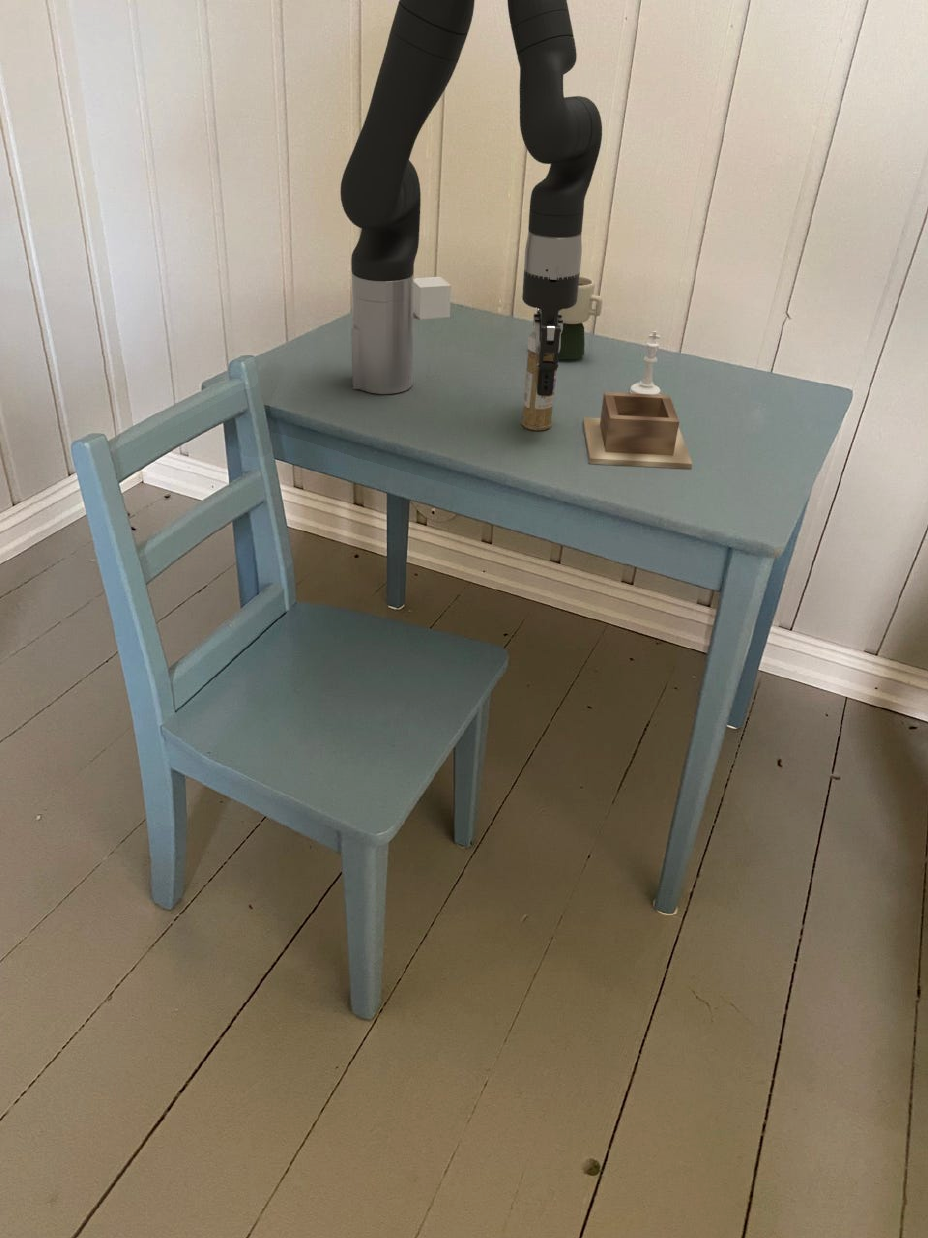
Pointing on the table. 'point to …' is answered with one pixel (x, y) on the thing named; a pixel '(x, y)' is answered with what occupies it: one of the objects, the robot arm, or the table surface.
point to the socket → (636, 432)
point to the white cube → (431, 298)
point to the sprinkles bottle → (534, 405)
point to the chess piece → (648, 370)
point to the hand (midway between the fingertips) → (543, 383)
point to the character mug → (578, 319)
